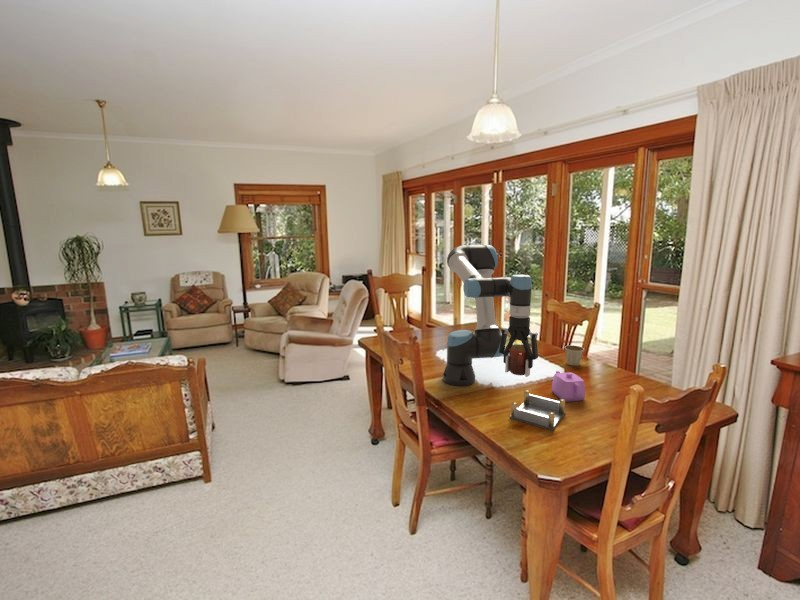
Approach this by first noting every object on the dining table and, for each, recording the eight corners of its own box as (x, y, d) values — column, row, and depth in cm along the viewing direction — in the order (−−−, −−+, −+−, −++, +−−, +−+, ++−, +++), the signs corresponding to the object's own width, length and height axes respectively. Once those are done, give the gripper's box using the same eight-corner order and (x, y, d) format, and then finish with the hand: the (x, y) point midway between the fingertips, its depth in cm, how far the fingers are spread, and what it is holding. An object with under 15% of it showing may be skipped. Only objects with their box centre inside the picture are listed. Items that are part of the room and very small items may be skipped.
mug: (507, 368, 166) (507, 344, 164) (529, 369, 164) (530, 345, 162) (507, 379, 155) (508, 352, 153) (531, 380, 152) (532, 353, 151)
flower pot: (565, 359, 220) (567, 344, 219) (584, 363, 215) (586, 347, 213) (561, 364, 213) (562, 348, 211) (580, 368, 208) (581, 352, 206)
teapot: (545, 387, 185) (546, 366, 183) (567, 386, 187) (568, 364, 185) (566, 405, 168) (568, 382, 166) (590, 403, 169) (593, 380, 167)
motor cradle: (509, 418, 158) (510, 403, 156) (524, 403, 170) (525, 389, 169) (552, 430, 148) (553, 415, 147) (565, 413, 161) (566, 399, 159)
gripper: (490, 314, 159) (489, 370, 163) (542, 321, 147) (539, 382, 151) (499, 311, 165) (497, 365, 169) (550, 317, 152) (546, 376, 156)
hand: (517, 373), depth 160 cm, fingers closed on mug, 7 cm apart
